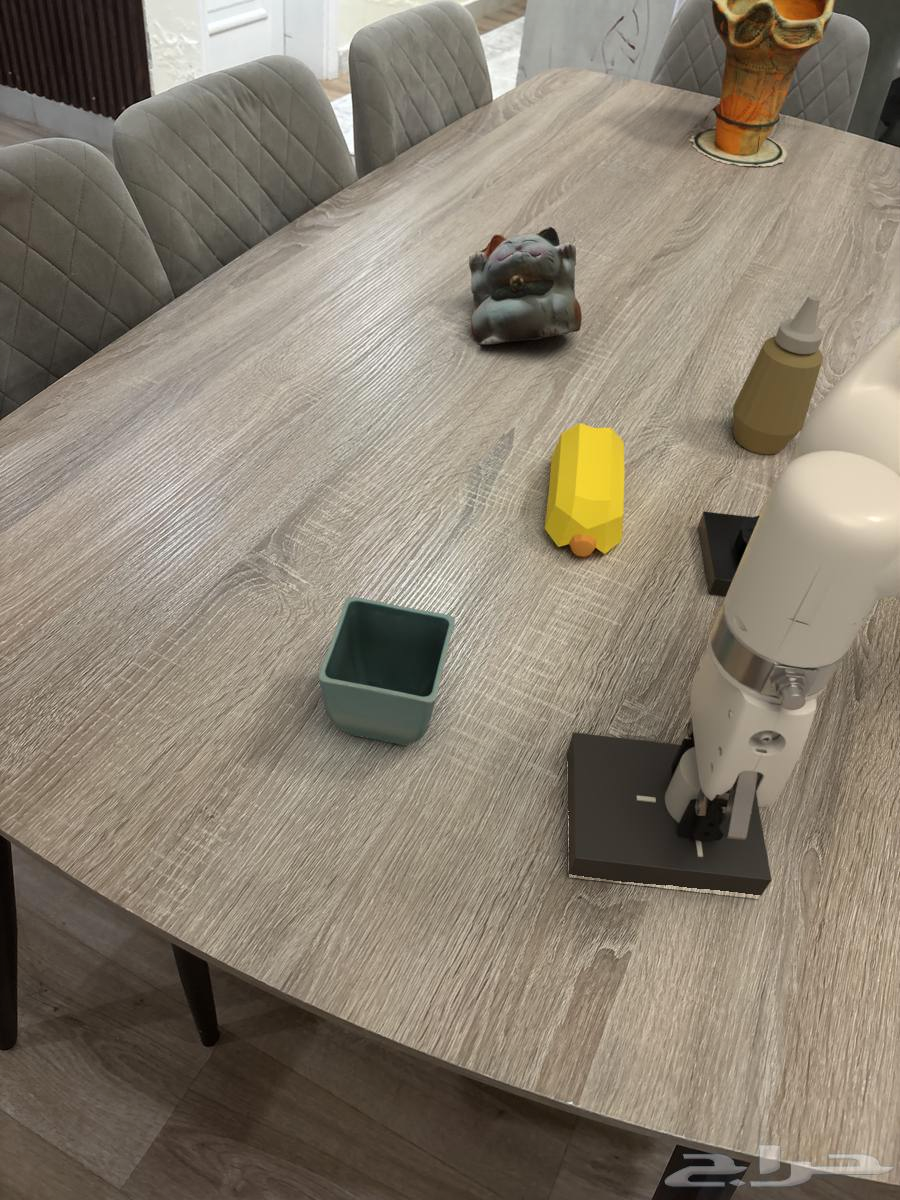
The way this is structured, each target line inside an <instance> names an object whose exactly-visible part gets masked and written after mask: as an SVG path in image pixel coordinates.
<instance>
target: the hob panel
mask: <svg viewBox="0 0 900 1200" xmlns="http://www.w3.org/2000/svg"><path fill="white" fill-rule="evenodd" d="M680 745H681V743H680V744H678V743H670V742H663V741H653V740H646V739H645V740H644V739H637V738H636V739H635V738H627V737H617V736H609V735H601V734H594V733H593V734H592V733H583V732H575V731H573V732H572V735H571V738H570V741H569V744H568V749H567V752H566V762H567V761H568V811H569V812H568V815H569V819H568V820H569V874H572V875H577V876H584V877H592V878H600V879H606V880H613V881H621V882H634V883H643V884H656V885H665V886H666V885H673V886H679V887H687V888H697V889H710V890H720V891H729V892H738V893H745V894H753V895H761V896H762V895H763V894H764V892H765V891H766V890H767V888H768V887H769V885H770V884H771V882H772V881H773V879H772V875H771V868H770V863H769V858H768V852H767V846H766V842H765V841H766V840H765V834H764V828H763V823H762V818H761V813H760V807H758V803H757V797H756V792H755V794H754V800H753V805H752V811H751V816H750V822H749V827H748V833H747V837H746V840H737V839H729V838H725V837H724V835H723V837H722V839H720V840H713V841H710V842H704V841H697V840H695V839H694V838H691V837H682V836H679V835H678V833H677V826H678V824H679V823H678V822H677V821H676V820H675V819H674V818H673V817H672V816H671V815H670V813H669V812H668V810H667V807H666V804H665V794H666V791H667V789H668V786H669V784H670V782H671V780H672V778H673V775H674V774H672V771H671V765H672V763H673V761H674V759H675V756H676V754H677V752H678V750H679V748H680Z"/></svg>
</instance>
